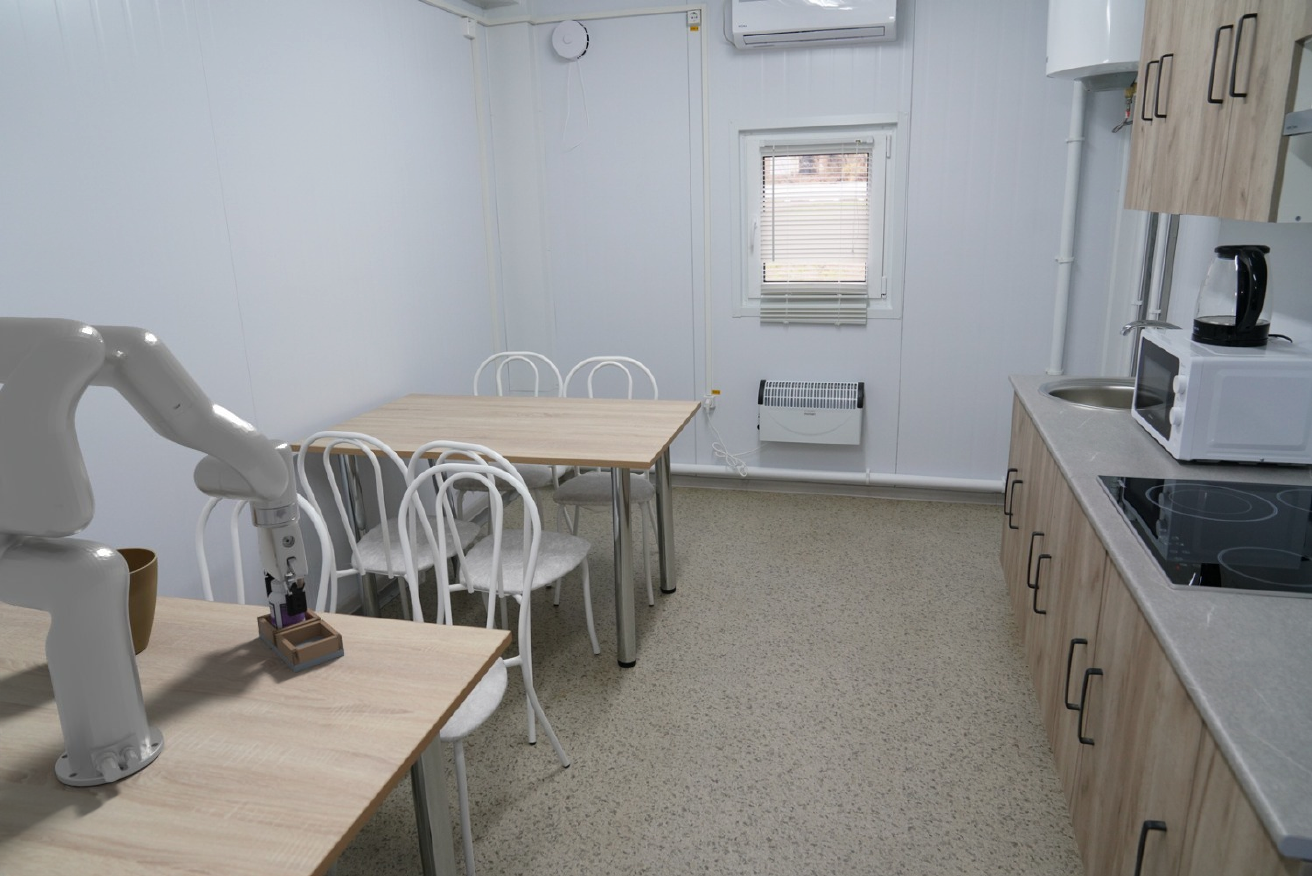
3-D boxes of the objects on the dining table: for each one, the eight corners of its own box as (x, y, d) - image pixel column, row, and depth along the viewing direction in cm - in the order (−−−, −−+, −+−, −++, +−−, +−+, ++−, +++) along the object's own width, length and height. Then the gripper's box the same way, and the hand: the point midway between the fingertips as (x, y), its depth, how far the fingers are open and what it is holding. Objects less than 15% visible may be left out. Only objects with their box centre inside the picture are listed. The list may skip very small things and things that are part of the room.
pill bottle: (312, 624, 151) (305, 574, 148) (296, 638, 146) (289, 587, 143) (283, 623, 151) (276, 573, 149) (267, 637, 146) (259, 586, 144)
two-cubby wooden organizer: (344, 654, 142) (342, 635, 141) (295, 672, 137) (292, 651, 136) (305, 621, 154) (303, 603, 154) (259, 636, 149) (256, 617, 148)
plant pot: (142, 622, 155) (127, 541, 151) (189, 642, 147) (175, 557, 143) (52, 657, 142) (34, 570, 138) (98, 681, 135) (80, 589, 131)
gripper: (317, 519, 139) (328, 614, 144) (279, 496, 152) (290, 583, 156) (270, 530, 134) (283, 628, 139) (235, 505, 147) (248, 595, 151)
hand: (287, 604), depth 147 cm, fingers open, 9 cm apart
